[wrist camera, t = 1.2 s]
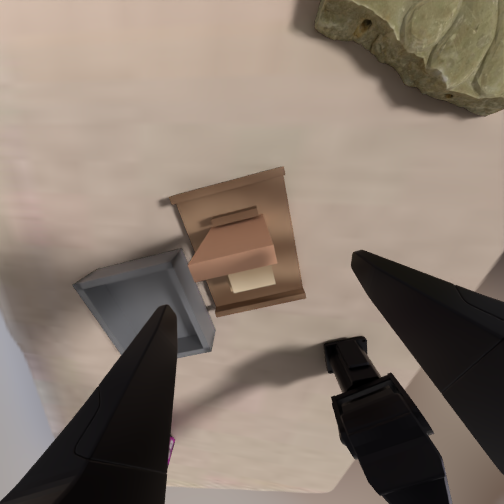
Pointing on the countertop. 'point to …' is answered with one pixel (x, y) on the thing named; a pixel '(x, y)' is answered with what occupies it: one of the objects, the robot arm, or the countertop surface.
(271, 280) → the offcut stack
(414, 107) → the countertop surface
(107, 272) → the tray
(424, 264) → the countertop surface
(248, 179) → the rack
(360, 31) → the decorative tile
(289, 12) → the countertop surface
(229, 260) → the slat
